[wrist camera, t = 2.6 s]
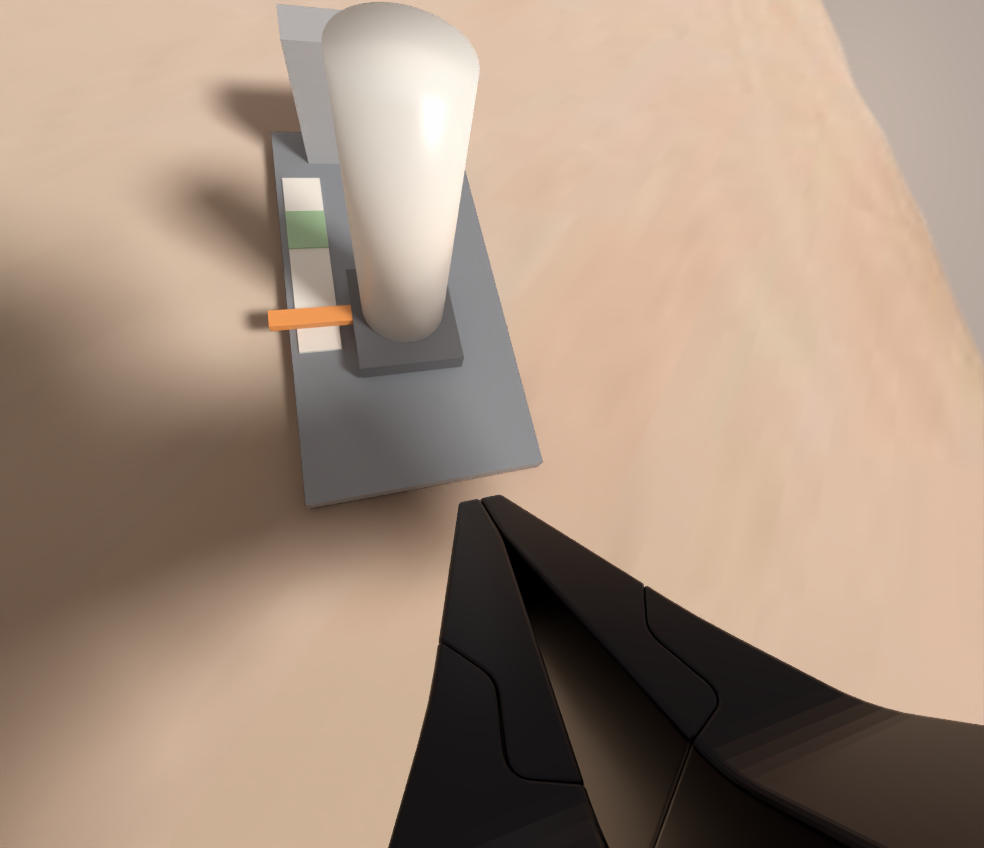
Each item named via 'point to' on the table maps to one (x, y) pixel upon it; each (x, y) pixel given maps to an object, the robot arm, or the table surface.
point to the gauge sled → (397, 181)
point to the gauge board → (333, 351)
